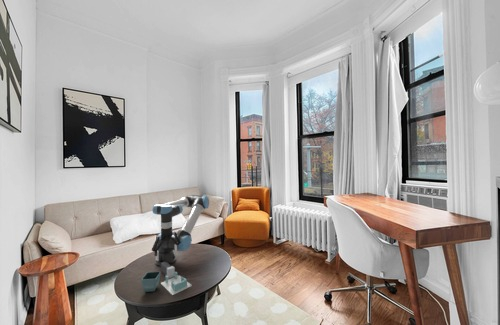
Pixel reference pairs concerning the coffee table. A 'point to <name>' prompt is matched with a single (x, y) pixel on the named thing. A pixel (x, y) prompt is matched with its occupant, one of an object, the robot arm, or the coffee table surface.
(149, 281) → the flower pot
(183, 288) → the board
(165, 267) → the bar
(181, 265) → the coffee table surface
